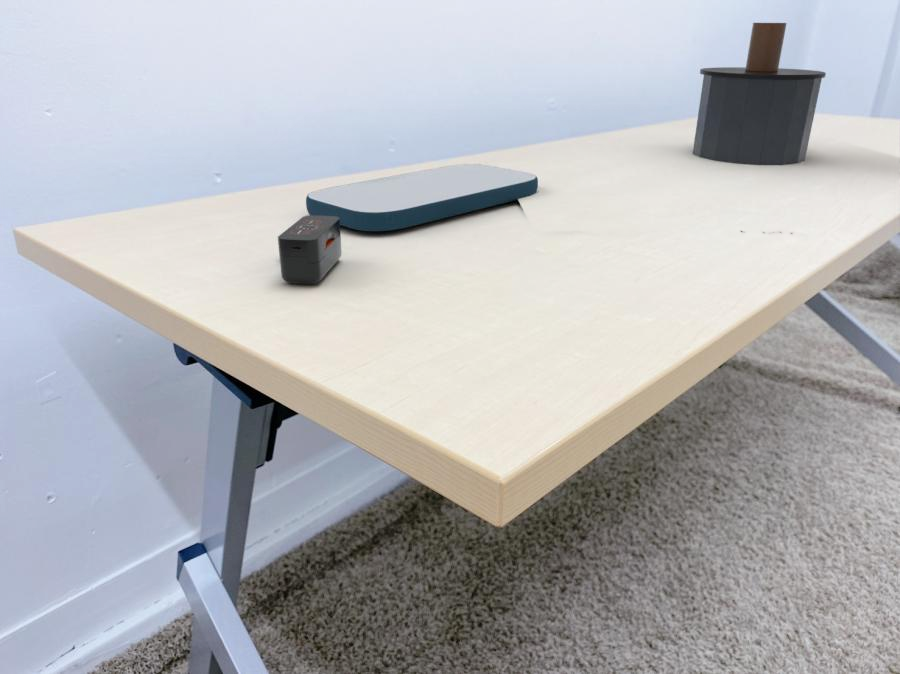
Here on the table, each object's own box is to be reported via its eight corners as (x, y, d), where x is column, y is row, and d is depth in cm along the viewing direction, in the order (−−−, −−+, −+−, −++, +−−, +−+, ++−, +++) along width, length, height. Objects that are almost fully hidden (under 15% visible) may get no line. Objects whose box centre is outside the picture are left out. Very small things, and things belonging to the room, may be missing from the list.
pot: (773, 151, 100) (788, 71, 95) (823, 169, 87) (843, 79, 83) (678, 151, 99) (689, 71, 95) (714, 169, 87) (729, 78, 82)
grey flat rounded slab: (373, 241, 58) (372, 217, 57) (293, 215, 65) (291, 194, 64) (550, 196, 73) (551, 176, 72) (468, 179, 80) (468, 161, 80)
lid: (789, 76, 96) (799, 23, 93) (848, 85, 83) (861, 23, 80) (683, 75, 96) (690, 22, 93) (725, 84, 82) (734, 22, 80)
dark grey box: (346, 255, 54) (344, 213, 53) (319, 287, 48) (315, 240, 46) (287, 252, 55) (284, 211, 53) (252, 284, 48) (247, 237, 47)
